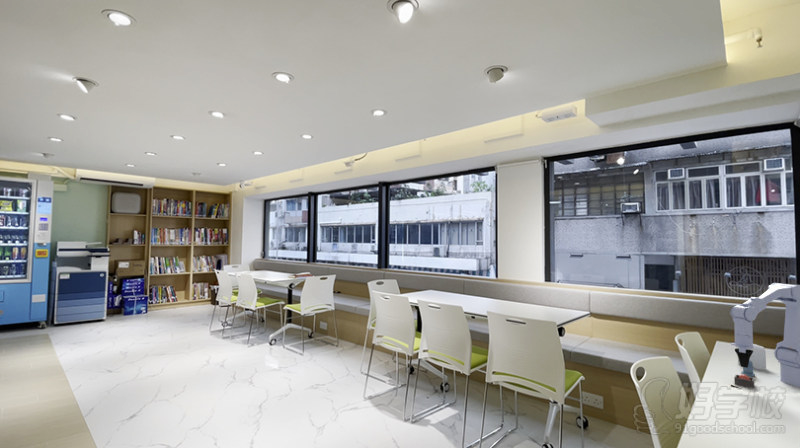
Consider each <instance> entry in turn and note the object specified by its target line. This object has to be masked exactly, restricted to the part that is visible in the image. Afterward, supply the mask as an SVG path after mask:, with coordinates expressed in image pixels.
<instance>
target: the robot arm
mask: <svg viewBox="0 0 800 448" xmlns="http://www.w3.org/2000/svg"><path fill="white" fill-rule="evenodd" d="M775 300H778V301H780V302H782V303H783V304H784V305H785V312H784V313H785V315H784V328H783V340H782V341H780V342H777V343H776V347H775V349H774V351H773V355H774V358H775V359H776V360H777V362H778V363H779V366H780V367H779V368H780V369H779V370H780V371H779V372H780V382H782V383H784V384H787V385H790V386H794V387H797V388H800V284H788V283H778V282H772V283H771V284H770V285H768V288H767V290H765V292H763V293H762V294H760V295H759V296H757V297H756V296H751V297H750V298H749V299H748V300H746V301H745V302H743V303H741V304H740V305H734V306H733V307H731V310H730V311H729V312H730V316H731V317H732V321H733V323H734V324H733V325H734V342H731V343H730V345H731V346H734V347H736V348H734V352H735V353H736V356H737V359H738V358H739V362H740V365H739V366H740V367H741V368H743V367H746V368H747V367H748V365H749V360H750V356H751V355H752V353H753V350H748V349H753V348H754V346H753V344H754V333H753V332H754V331H753V328H754V327H753V326H754V325H753V321H755V320H756V319H757V316H758V315H759V313H760V312H762V311H764V310H765V309H766V308H767V304H769V303H771V302H773V301H775ZM738 348H739V349H738Z"/></svg>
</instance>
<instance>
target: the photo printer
mask: <svg viewBox="0 0 800 448" xmlns="http://www.w3.org/2000/svg"><path fill="white" fill-rule="evenodd" d="M753 346H754V348H753V349H748V350H753V353H752V355H751V356H750V361H752V363H753V365H752V366H753V369H756V370H757V369H758V370H762V371H767V358H766V357H767V356H766V354H767V353H766V349H765V347H764V346H762V345H759V344H756V343H753ZM738 349H739V348H738ZM737 364H738V366H741V365H740V362H739V358H738V357H737Z"/></svg>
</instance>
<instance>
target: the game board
mask: <svg viewBox="0 0 800 448" xmlns="http://www.w3.org/2000/svg"><path fill="white" fill-rule="evenodd" d="M740 375H742V374H741V372H740V373H739V374H735V376H734V378H733V379H734V385H733V384H730V387H731V388H736V389H740V390H742V388H740V387H738V386H741V387H745V388H750V389H754V388H755V383H756V379H757V377H758V375H756V374H755V377H749V376H748V377H749V378H750V380H751V381H750V380H746V379H741V378H739V376H740ZM736 385H737V386H736Z"/></svg>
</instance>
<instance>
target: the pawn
mask: <svg viewBox="0 0 800 448" xmlns="http://www.w3.org/2000/svg"><path fill="white" fill-rule="evenodd" d="M752 365H753V363H752V361H750V360H749V365H748V367H747V368H746V367H742V371H741V372H740V373H741V374H742V375H747V376H749V377H751V378H752V377H755V375H756V373H754V368H753V366H752Z"/></svg>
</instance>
